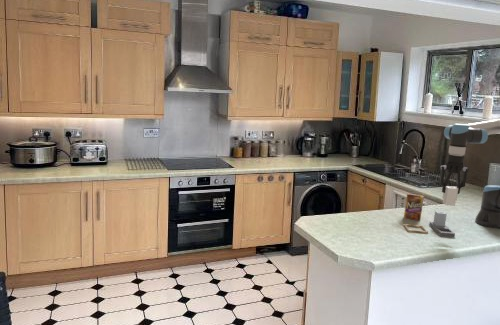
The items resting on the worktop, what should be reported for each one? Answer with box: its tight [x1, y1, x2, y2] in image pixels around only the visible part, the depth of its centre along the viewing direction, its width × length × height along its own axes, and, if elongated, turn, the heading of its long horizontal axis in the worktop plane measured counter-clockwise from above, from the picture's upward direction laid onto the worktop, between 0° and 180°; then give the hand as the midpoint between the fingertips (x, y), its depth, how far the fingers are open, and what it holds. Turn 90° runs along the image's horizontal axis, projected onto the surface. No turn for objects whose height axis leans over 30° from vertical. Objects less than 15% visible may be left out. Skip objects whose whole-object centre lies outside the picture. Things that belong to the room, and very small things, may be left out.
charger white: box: [442, 185, 458, 207], centre depth 213 cm, size 4×4×9 cm
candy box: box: [403, 192, 425, 222], centre depth 240 cm, size 9×4×15 cm, turn 60°
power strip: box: [428, 221, 456, 238], centre depth 225 cm, size 25×7×4 cm, turn 174°
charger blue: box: [432, 210, 447, 227], centre depth 225 cm, size 4×4×9 cm
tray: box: [402, 223, 429, 235], centre depth 221 cm, size 10×10×2 cm
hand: (449, 199), depth 214 cm, fingers closed on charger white, 4 cm apart
